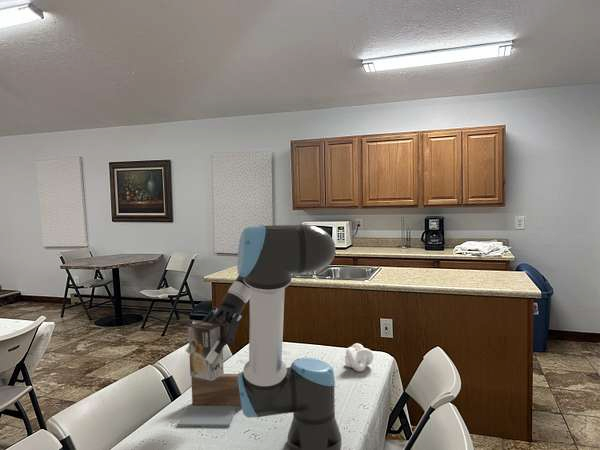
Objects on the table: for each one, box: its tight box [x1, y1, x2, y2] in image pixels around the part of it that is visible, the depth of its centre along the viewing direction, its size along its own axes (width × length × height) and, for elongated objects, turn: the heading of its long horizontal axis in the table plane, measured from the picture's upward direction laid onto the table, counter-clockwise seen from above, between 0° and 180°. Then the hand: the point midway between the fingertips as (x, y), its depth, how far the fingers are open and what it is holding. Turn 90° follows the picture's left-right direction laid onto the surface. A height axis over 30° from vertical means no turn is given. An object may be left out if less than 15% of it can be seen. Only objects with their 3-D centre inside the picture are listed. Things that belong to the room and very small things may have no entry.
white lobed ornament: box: [344, 342, 375, 373], centre depth 169 cm, size 11×12×9 cm
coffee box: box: [188, 321, 225, 381], centre depth 132 cm, size 9×6×16 cm
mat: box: [177, 405, 237, 428], centre depth 132 cm, size 11×16×1 cm
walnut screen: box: [190, 373, 241, 406], centre depth 141 cm, size 2×19×10 cm, turn 88°
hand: (198, 357), depth 129 cm, fingers closed on coffee box, 10 cm apart
